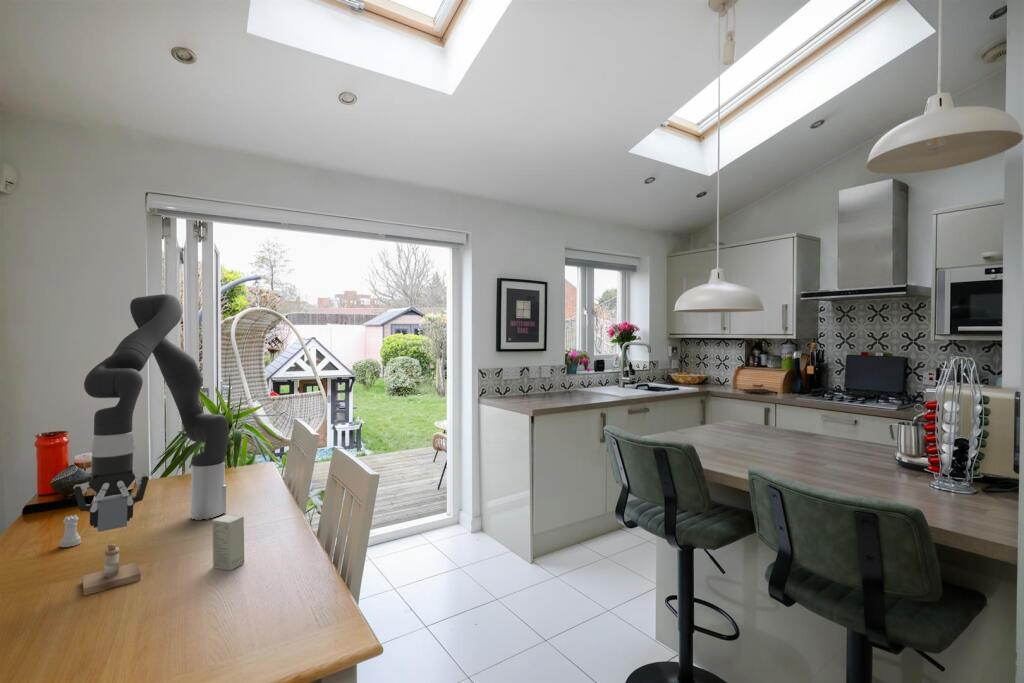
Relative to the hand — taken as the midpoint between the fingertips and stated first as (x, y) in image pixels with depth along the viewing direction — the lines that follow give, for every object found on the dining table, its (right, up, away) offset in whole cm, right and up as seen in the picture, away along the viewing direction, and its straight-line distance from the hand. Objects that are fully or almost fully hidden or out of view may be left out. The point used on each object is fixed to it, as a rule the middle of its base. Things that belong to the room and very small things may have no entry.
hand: (111, 523), depth 112 cm
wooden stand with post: (0, -14, 0) cm, 14 cm away
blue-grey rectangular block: (0, -1, 0) cm, 1 cm away
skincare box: (+23, -14, +8) cm, 28 cm away
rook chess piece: (-28, -14, +20) cm, 37 cm away
